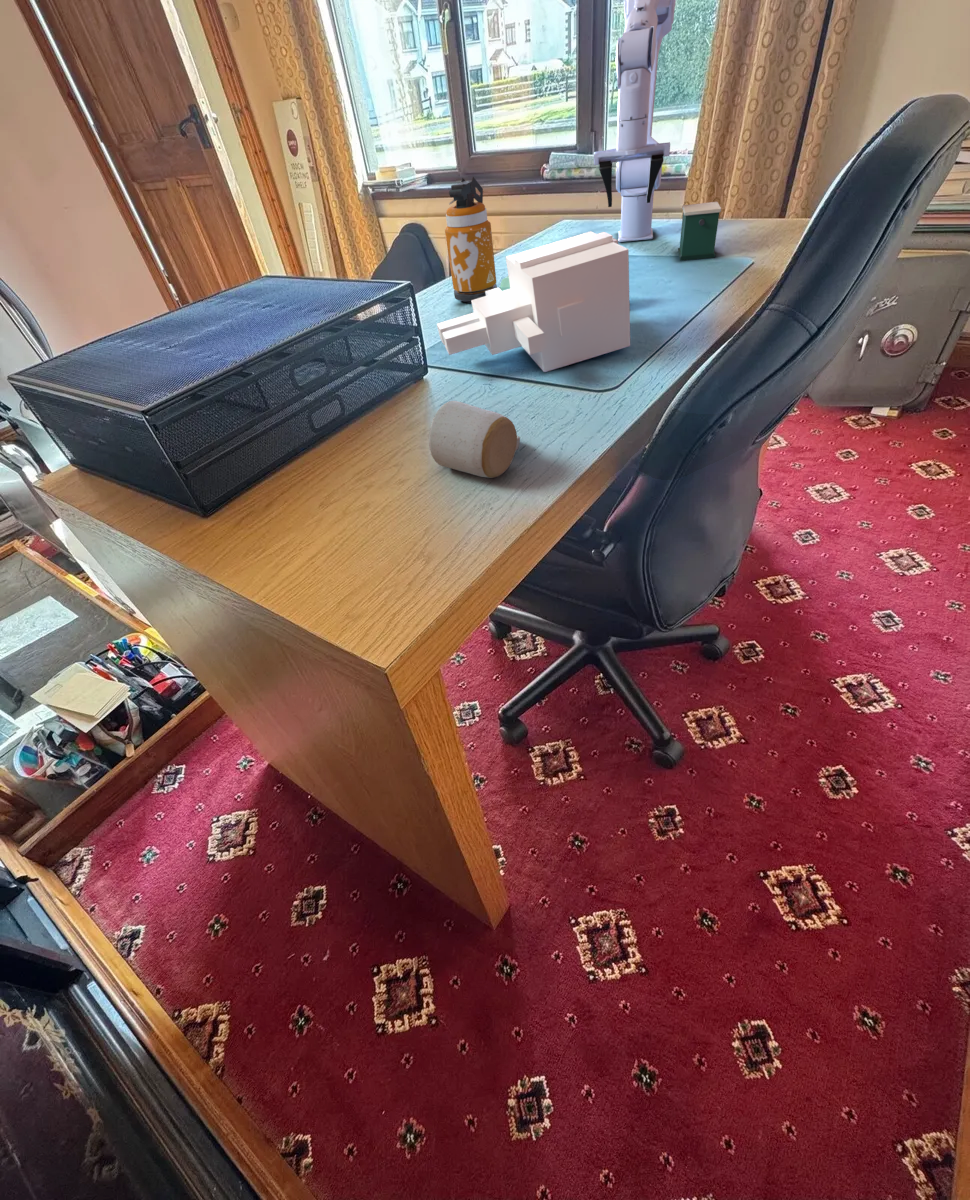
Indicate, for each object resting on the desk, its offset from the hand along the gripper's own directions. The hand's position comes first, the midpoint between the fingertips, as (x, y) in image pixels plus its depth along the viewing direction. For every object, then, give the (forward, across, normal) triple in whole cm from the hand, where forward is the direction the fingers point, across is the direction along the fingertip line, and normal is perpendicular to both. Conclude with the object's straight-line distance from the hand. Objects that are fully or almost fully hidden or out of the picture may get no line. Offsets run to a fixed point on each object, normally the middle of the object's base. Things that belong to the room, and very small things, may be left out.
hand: (629, 204), depth 117 cm
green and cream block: (+6, +11, -1) cm, 13 cm away
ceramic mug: (+10, -17, -84) cm, 87 cm away
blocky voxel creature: (+10, -14, -52) cm, 54 cm away
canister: (+10, -30, -17) cm, 36 cm away
